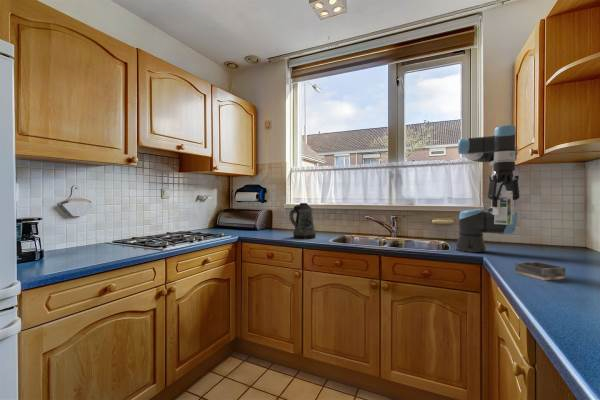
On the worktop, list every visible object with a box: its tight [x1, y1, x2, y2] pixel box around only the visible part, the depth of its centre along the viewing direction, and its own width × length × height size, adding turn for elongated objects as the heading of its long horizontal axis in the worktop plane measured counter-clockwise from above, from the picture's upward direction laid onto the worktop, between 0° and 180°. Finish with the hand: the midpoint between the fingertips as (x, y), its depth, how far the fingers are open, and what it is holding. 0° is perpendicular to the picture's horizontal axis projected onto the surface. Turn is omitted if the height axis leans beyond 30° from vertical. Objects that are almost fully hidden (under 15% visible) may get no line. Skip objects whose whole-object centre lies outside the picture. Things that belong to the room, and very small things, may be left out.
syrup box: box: [494, 191, 513, 225], centre depth 124 cm, size 6×6×14 cm
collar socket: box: [514, 261, 566, 281], centre depth 110 cm, size 11×11×4 cm
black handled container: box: [289, 202, 317, 240], centre depth 207 cm, size 16×19×25 cm
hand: (503, 214), depth 125 cm, fingers closed on syrup box, 7 cm apart
